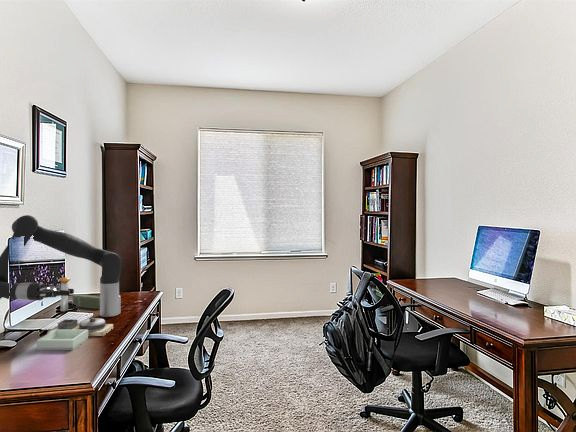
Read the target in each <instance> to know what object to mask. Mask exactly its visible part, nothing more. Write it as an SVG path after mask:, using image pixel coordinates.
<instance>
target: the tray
mask: <svg viewBox="0 0 576 432" xmlns="http://www.w3.org/2000/svg"><path fill="white" fill-rule="evenodd" d="M87 340H89V337H88V330H54V331H52V332H50V333H48V334H47V333H46V334H45V335H43V336H42V337H39V338H38V339H37V340H36V351H74V350H75V349H76V348H78V347H79V346H81V345H82V344H83V343H84V341H85V342H86V341H87ZM80 344H81V345H80Z"/></svg>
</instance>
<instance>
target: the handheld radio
mask: <svg viewBox="0 0 576 432" xmlns="http://www.w3.org/2000/svg"><path fill="white" fill-rule="evenodd" d="M73 303H74V304H75V305H76V306H75V307H77V308H79V307H81V308H89V309H94V310H95V309H98V310H100V296H93V295H87V294H86V295H85V294H76V293H73V294H72V304H73Z"/></svg>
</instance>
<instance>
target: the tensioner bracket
mask: <svg viewBox="0 0 576 432" xmlns="http://www.w3.org/2000/svg"><path fill="white" fill-rule="evenodd" d="M106 322H107V321H106V320H105V319H104V318H98V317H97V318H96V317H91V318H86V319H83V320H81V321H80V322H79V323H78V319H63V320H61V321H60V322H57V325H56V326H55V327H53V328H52V329H50V330H48V331H46V332H47V333H46V335H47V334H48V333H50V332H52V331H54V330H88V336H103V337H104V336H106V335H107V334H109V332H111V331H112V330H113V329H114V323H106ZM111 329H112V330H111ZM106 333H107V334H106Z"/></svg>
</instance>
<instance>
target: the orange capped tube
mask: <svg viewBox="0 0 576 432" xmlns="http://www.w3.org/2000/svg"><path fill="white" fill-rule="evenodd" d="M70 281H71V278H70V277H59V282H60V286H61V290H68V289H69V282H70ZM66 311H69V296H60V312H66Z"/></svg>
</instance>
